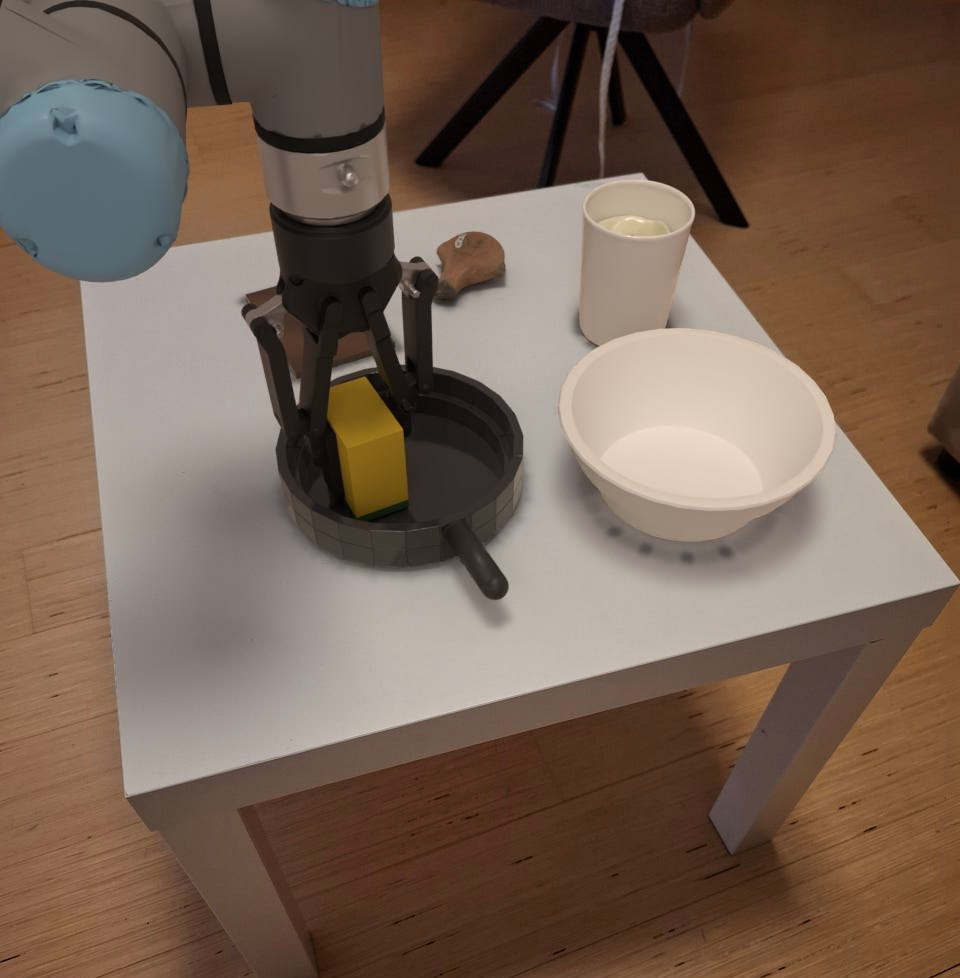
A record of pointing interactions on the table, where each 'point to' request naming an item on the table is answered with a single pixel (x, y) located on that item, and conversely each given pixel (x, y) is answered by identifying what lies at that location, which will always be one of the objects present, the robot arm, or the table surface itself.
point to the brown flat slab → (293, 338)
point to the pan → (419, 477)
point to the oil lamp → (468, 262)
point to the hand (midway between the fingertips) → (364, 477)
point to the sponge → (368, 450)
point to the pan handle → (476, 560)
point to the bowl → (694, 430)
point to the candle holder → (631, 256)
